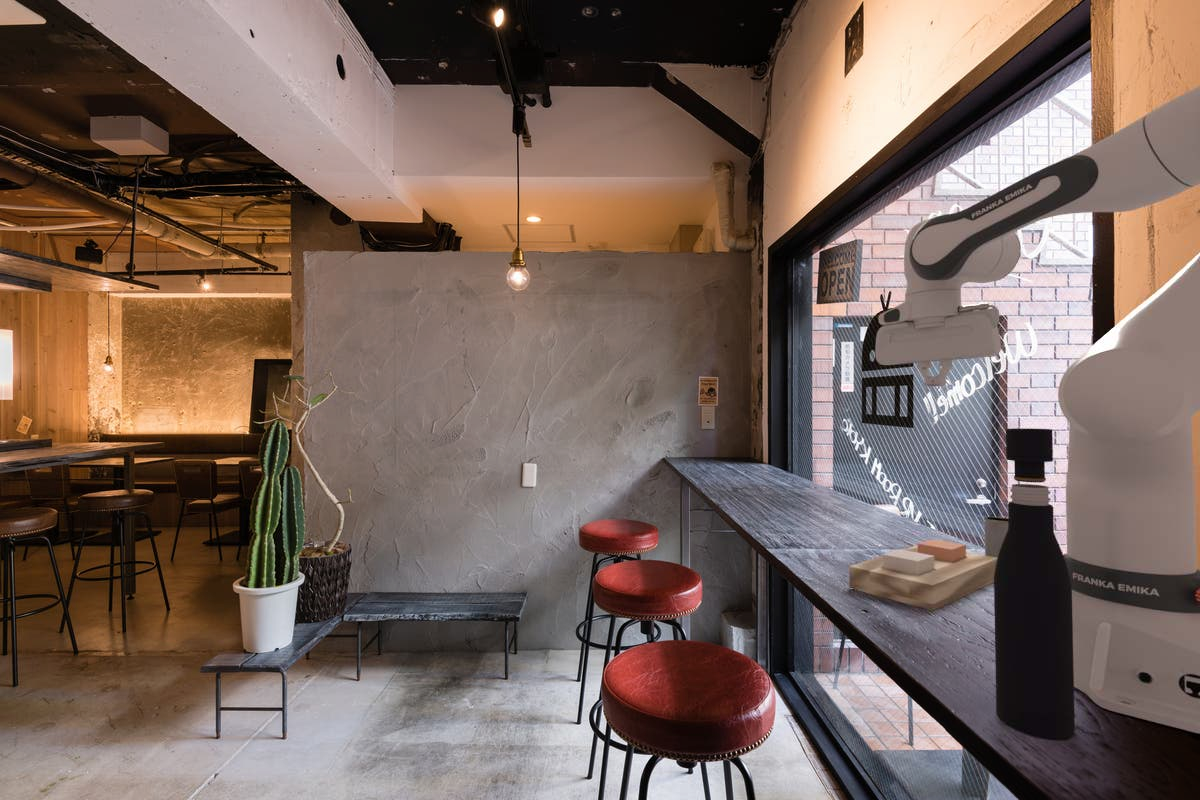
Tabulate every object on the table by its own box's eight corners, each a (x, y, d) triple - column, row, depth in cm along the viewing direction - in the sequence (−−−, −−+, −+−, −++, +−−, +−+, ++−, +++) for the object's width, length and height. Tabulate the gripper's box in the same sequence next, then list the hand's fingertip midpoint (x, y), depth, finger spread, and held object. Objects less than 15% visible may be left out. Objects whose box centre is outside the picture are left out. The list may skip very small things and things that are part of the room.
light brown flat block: (999, 579, 107) (998, 557, 107) (933, 610, 91) (932, 585, 91) (920, 563, 118) (920, 544, 119) (849, 588, 102) (849, 566, 102)
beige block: (934, 578, 100) (934, 555, 100) (918, 585, 97) (917, 561, 97) (899, 571, 105) (899, 549, 105) (883, 577, 102) (882, 554, 102)
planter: (979, 569, 114) (978, 517, 114) (996, 567, 115) (995, 515, 115) (1001, 575, 110) (1000, 521, 110) (1019, 573, 111) (1018, 520, 111)
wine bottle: (1066, 748, 54) (1059, 430, 55) (987, 720, 59) (982, 429, 60) (1082, 724, 58) (1076, 428, 59) (1007, 699, 63) (1002, 427, 64)
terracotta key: (966, 566, 108) (965, 544, 108) (952, 571, 105) (951, 549, 105) (932, 559, 113) (932, 539, 113) (917, 564, 109) (917, 543, 109)
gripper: (1005, 302, 98) (1008, 383, 98) (886, 319, 115) (888, 389, 114) (991, 298, 94) (994, 382, 94) (870, 317, 111) (872, 388, 111)
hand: (935, 386), depth 104 cm, fingers closed
